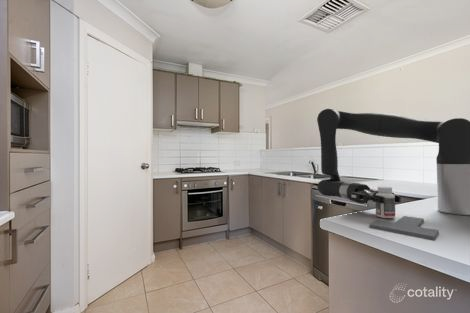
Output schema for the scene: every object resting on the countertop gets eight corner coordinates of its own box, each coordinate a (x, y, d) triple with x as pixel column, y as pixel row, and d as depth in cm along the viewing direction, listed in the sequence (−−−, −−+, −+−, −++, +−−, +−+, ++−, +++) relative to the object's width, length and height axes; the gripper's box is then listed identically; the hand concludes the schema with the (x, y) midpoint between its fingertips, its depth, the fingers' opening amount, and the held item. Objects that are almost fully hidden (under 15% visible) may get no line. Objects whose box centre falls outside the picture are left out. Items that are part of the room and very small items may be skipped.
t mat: (387, 215, 75) (387, 213, 75) (443, 224, 65) (443, 221, 65) (369, 227, 63) (369, 224, 63) (434, 239, 53) (434, 236, 53)
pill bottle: (397, 216, 73) (396, 186, 73) (393, 219, 69) (392, 188, 70) (378, 213, 77) (377, 185, 77) (373, 216, 73) (373, 187, 73)
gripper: (337, 183, 86) (372, 189, 69) (369, 181, 89) (410, 187, 72) (338, 202, 86) (372, 212, 69) (370, 200, 89) (411, 210, 72)
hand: (391, 199), depth 71 cm, fingers closed on pill bottle, 5 cm apart
